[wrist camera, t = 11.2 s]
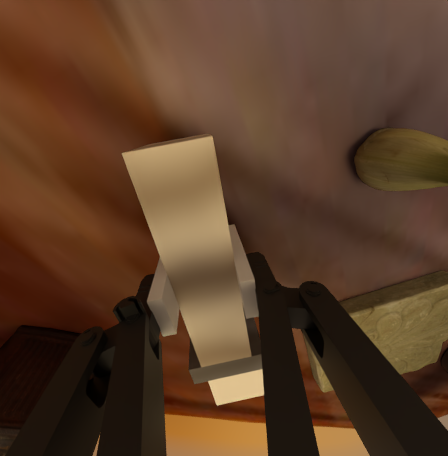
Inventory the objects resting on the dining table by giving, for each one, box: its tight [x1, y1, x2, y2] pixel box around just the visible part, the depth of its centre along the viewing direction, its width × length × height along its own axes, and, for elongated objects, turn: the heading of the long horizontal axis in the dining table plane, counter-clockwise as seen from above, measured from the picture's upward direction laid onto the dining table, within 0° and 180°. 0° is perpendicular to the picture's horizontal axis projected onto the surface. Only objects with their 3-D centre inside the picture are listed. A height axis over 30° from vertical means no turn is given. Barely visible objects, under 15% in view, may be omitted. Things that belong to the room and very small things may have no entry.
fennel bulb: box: [354, 128, 448, 191], centre depth 14 cm, size 6×5×12 cm
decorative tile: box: [303, 271, 448, 392], centre depth 31 cm, size 19×20×4 cm
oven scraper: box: [122, 133, 262, 384], centre depth 15 cm, size 18×6×5 cm, turn 10°
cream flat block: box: [208, 369, 264, 405], centre depth 30 cm, size 3×8×12 cm
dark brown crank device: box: [0, 326, 81, 456], centre depth 18 cm, size 16×11×18 cm
